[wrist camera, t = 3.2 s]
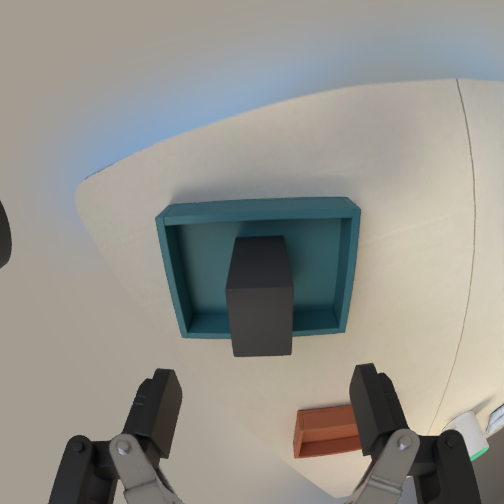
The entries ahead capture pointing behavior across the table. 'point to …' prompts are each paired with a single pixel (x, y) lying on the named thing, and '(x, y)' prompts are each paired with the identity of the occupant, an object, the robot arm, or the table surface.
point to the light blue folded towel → (496, 420)
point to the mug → (470, 433)
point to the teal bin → (260, 224)
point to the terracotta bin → (325, 432)
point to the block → (260, 297)
